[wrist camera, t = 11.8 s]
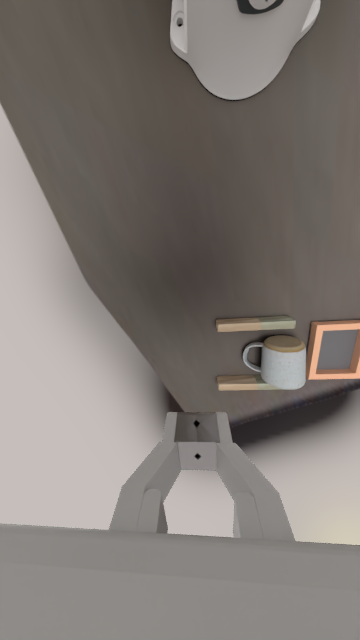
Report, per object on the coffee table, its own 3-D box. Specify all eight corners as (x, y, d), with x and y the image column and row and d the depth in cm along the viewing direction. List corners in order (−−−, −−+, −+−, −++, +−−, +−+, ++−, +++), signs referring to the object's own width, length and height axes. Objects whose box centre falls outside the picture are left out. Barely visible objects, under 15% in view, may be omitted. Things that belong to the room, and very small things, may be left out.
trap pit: (310, 321, 37) (317, 325, 35) (365, 319, 36) (375, 322, 34) (303, 373, 41) (308, 379, 39) (352, 372, 40) (360, 378, 38)
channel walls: (215, 319, 38) (217, 324, 35) (287, 315, 37) (295, 320, 34) (217, 381, 43) (218, 390, 40) (280, 380, 41) (287, 389, 39)
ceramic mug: (294, 331, 38) (317, 349, 30) (292, 366, 40) (313, 390, 33) (240, 336, 39) (250, 354, 32) (242, 369, 42) (251, 393, 34)
